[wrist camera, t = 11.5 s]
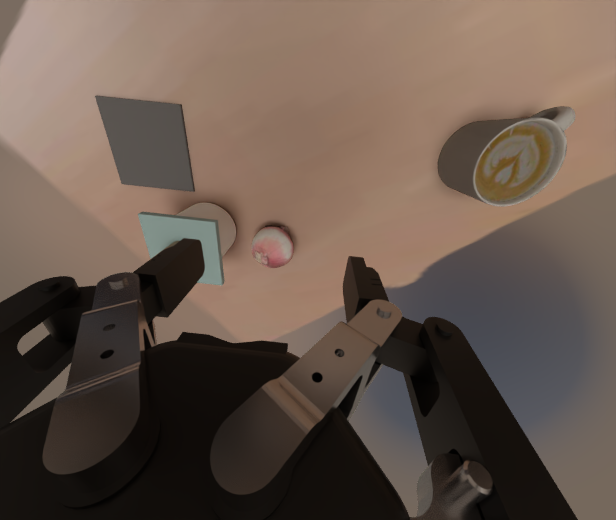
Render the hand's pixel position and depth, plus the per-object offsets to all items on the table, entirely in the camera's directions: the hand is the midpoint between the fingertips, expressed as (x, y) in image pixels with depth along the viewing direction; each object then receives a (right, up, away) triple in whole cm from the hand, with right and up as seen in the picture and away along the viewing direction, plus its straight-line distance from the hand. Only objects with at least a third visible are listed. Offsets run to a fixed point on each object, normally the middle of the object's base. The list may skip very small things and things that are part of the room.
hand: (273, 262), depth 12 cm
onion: (-4, +4, +33) cm, 33 cm away
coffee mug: (+29, +17, +23) cm, 41 cm away
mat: (-25, +19, +26) cm, 40 cm away
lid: (-17, +2, +23) cm, 29 cm away
